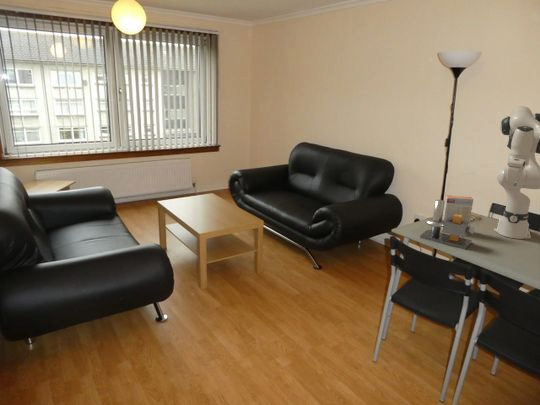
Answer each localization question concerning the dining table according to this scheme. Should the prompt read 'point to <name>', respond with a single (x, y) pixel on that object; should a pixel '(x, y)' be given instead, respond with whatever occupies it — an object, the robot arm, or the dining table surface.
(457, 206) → the cracker box
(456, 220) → the orange rectangular bar
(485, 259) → the dining table surface
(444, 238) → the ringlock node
